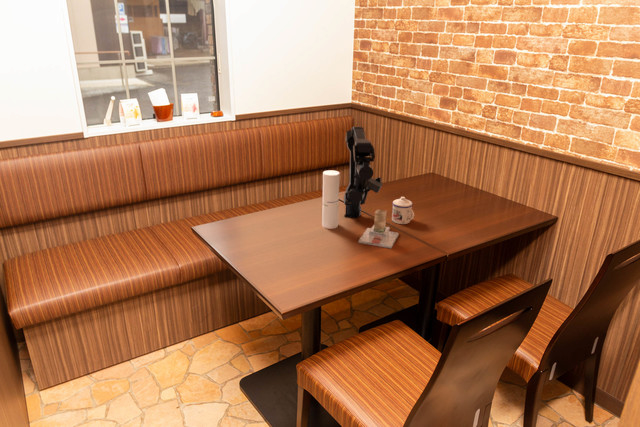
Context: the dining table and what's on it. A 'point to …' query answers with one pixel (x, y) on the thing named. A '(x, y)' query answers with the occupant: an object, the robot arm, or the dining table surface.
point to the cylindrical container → (330, 199)
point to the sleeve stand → (379, 237)
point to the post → (380, 220)
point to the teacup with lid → (402, 211)
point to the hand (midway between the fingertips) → (360, 207)
